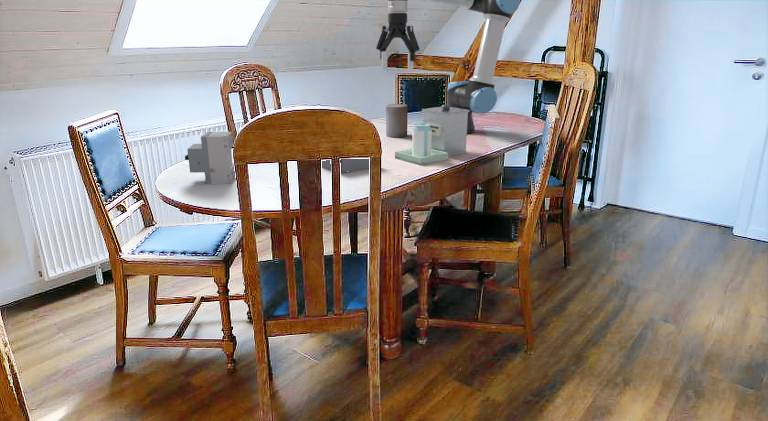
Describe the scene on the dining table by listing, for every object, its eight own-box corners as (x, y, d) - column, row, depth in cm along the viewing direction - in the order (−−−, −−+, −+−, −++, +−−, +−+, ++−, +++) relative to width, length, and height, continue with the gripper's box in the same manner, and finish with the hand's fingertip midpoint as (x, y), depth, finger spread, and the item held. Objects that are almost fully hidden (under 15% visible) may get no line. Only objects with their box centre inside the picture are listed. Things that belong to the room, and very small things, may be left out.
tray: (422, 152, 212) (422, 146, 211) (447, 159, 202) (448, 152, 201) (394, 158, 204) (395, 151, 203) (420, 165, 193) (420, 158, 193)
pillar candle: (408, 133, 249) (408, 100, 244) (405, 138, 240) (405, 103, 235) (387, 133, 251) (387, 100, 246) (384, 137, 241) (383, 103, 237)
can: (409, 155, 205) (409, 123, 201) (426, 153, 207) (427, 122, 203) (416, 159, 198) (416, 126, 194) (433, 158, 200) (434, 125, 197)
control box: (443, 147, 221) (445, 102, 215) (467, 153, 212) (469, 105, 206) (420, 152, 213) (421, 104, 207) (443, 157, 204) (445, 108, 198)
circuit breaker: (191, 177, 176) (186, 132, 172) (236, 177, 178) (232, 131, 173) (185, 184, 169) (180, 136, 165) (232, 183, 171) (228, 136, 166)
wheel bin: (354, 159, 202) (354, 143, 200) (377, 166, 191) (377, 149, 190) (318, 165, 192) (317, 149, 190) (340, 173, 182) (340, 156, 180)
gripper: (367, 12, 216) (367, 67, 223) (417, 12, 201) (416, 71, 207) (379, 13, 221) (379, 66, 228) (429, 12, 206) (427, 69, 213)
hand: (397, 68), depth 218 cm, fingers open, 13 cm apart
